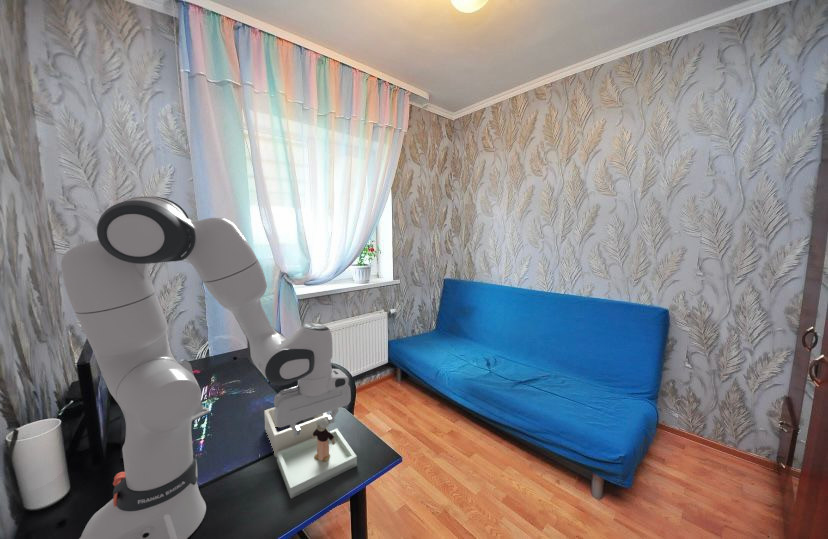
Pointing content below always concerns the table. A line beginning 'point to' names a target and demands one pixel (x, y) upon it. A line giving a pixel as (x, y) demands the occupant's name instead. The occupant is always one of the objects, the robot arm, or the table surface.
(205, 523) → the table surface
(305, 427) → the ceramic holder
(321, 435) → the grandmother figurine
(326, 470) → the sage tray
